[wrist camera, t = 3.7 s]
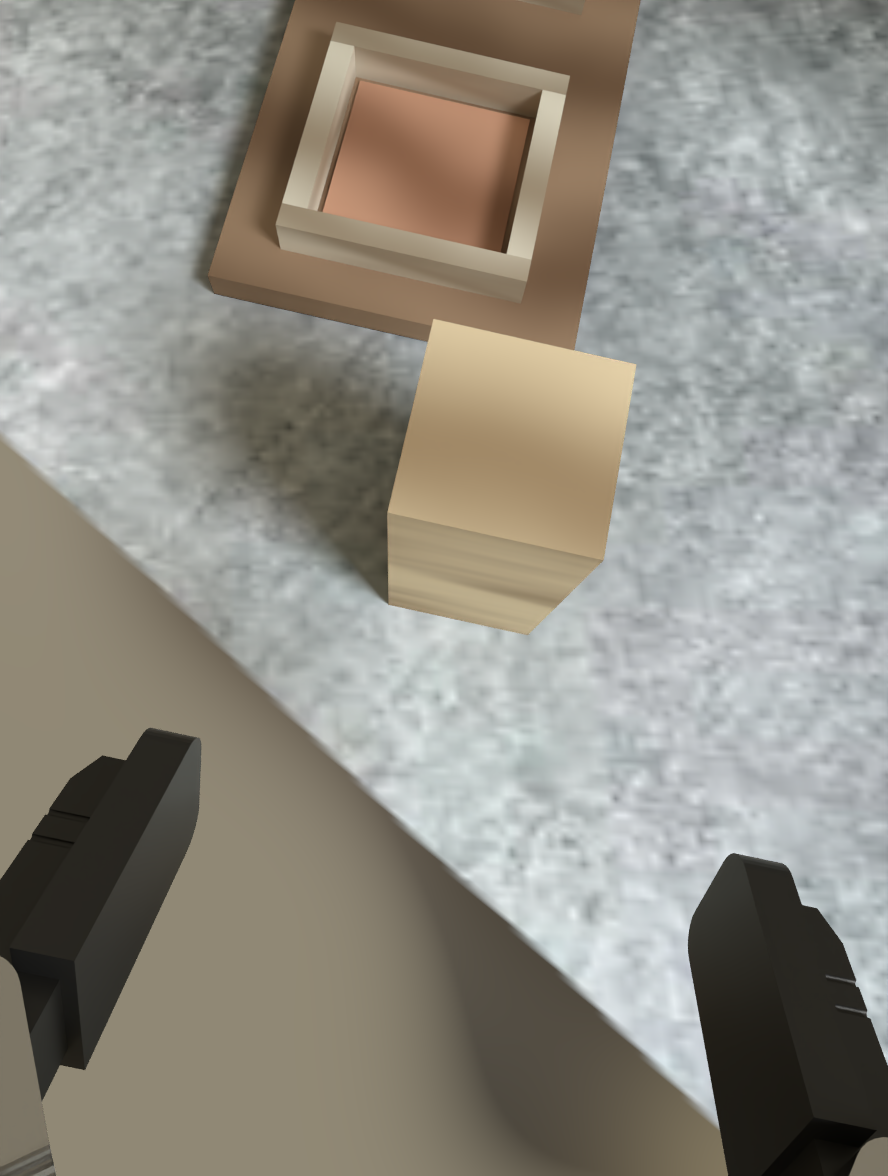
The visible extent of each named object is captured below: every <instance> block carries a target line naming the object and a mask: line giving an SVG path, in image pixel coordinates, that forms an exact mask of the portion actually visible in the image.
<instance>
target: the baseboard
mask: <svg viewBox="0 0 888 1176" xmlns="http://www.w3.org/2000/svg"><path fill="white" fill-rule="evenodd" d="M639 5H640V0H295V2H294V5H293V9H292V12H291V15H290V18H289V21H288V24H287V27H286V31H285V34H284V37H283V40H282V43H281V46H280V49H279V53H278V56H277V59H276V62H275V65H274V68H273V71H272V75H271V78H270V81H269V84H268V87H267V90H266V93H265V97H264V100H263V103H262V106H261V109H260V112H259V115H258V119H257V122H256V125H255V128H254V131H253V134H252V137H251V141H250V144H249V147H248V150H247V153H246V156H245V159H244V163H243V166H242V169H241V172H240V175H239V178H238V181H237V185H236V188H235V191H234V194H233V197H232V200H231V203H230V207H229V210H228V213H227V216H226V219H225V222H224V225H223V229H222V232H221V235H220V238H219V241H218V244H217V247H216V251H215V254H214V257H213V260H212V263H211V266H210V269H209V273H208V278H209V280H210V283H211V286H212V289H213V291H214V294H219V295H223V296H228V297H232V298H236V299H241V300H245V301H250V302H254V303H259V304H263V305H267V306H272V307H276V308H281V309H285V310H290V311H294V312H299V313H303V314H307V315H312V316H316V317H321V318H325V319H330V320H334V321H339V322H343V323H347V324H352V325H356V326H361V327H365V328H370V329H374V330H379V331H383V332H387V333H392V334H396V335H401V336H405V337H410V338H414V339H419V340H423V341H427V342H428V340H429V336H430V331H431V327H432V323H433V319H436V320H441V321H445V322H450V323H454V324H459V325H463V326H468V327H472V328H476V329H481V330H485V331H490V332H494V333H499V334H503V335H508V336H512V337H516V338H521V339H525V340H530V341H534V342H539V343H543V344H548V345H552V346H556V347H561V348H565V349H570V350H574V348H575V343H576V338H577V332H578V327H579V322H580V316H581V311H582V306H583V301H584V295H585V290H586V285H587V280H588V274H589V269H590V264H591V258H592V253H593V248H594V243H595V237H596V232H597V227H598V221H599V216H600V211H601V206H602V200H603V195H604V190H605V185H606V179H607V174H608V169H609V163H610V158H611V153H612V148H613V142H614V137H615V132H616V127H617V121H618V116H619V111H620V105H621V100H622V95H623V90H624V84H625V79H626V74H627V68H628V63H629V58H630V53H631V47H632V42H633V37H634V32H635V26H636V21H637V16H638V10H639Z"/></svg>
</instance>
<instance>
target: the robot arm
mask: <svg viewBox="0 0 888 1176" xmlns="http://www.w3.org/2000/svg"><path fill="white" fill-rule="evenodd" d="M200 767H201V741H200V739H199V738H196V737H192V736H187V735H182V734H178V733H172V732H168V731H163V730H158V729H153V728H148V729H147V730H146V731H145V732H144V733H143V734H142V736H141V737H140V739H139V740H138V742H137V744H136V745H135V747H134V748H133V750H132V752H131V753H130V755H129V756H128V758H127V760H121V759H116V758H111V757H106V756H101V757H100V758H98V759H97V760H96V761H94V762H93V763H91V764H90V765H89V766H87V767H86V768H84V769H83V770H82V771H80V772H79V773H77V774H76V775H75V776H73V777H72V778H70V780H69V781H68V783H67V784H66V786H65V787H64V789H63V790H62V791H61V793H60V794H59V796H58V797H57V798H56V800H55V801H54V803H53V804H52V806H51V807H50V810H49V813H48V815H45V816H44V817H43V819H42V820H41V822H40V823H39V825H38V826H37V828H36V829H35V831H34V832H33V834H32V838H31V839H30V840H28V841H27V842H26V843H25V845H24V846H23V848H22V849H21V851H20V852H19V854H18V855H17V857H16V858H15V860H14V861H13V862H12V864H11V865H10V867H9V868H8V870H7V871H6V873H5V874H4V875H3V877H2V878H1V880H0V1176H56V1174H55V1169H54V1164H53V1159H52V1155H51V1150H50V1144H49V1140H48V1134H47V1128H46V1123H45V1117H44V1112H43V1106H42V1100H43V1098H44V1096H45V1094H46V1092H47V1090H48V1088H49V1086H50V1084H51V1082H52V1080H53V1078H54V1076H55V1074H56V1072H57V1069H58V1068H59V1066H60V1065H63V1066H68V1067H73V1068H78V1069H83V1070H85V1069H86V1067H87V1064H88V1062H89V1060H90V1058H91V1056H92V1054H93V1052H94V1049H95V1047H96V1045H97V1043H98V1041H99V1039H100V1037H101V1034H102V1032H103V1030H104V1028H105V1026H106V1023H107V1022H108V1019H109V1017H110V1015H111V1013H112V1011H113V1009H114V1007H115V1004H116V1002H117V1000H118V998H119V996H120V994H121V991H122V989H123V987H124V985H125V983H126V981H127V979H128V976H129V974H130V972H131V970H132V968H133V966H134V964H135V961H136V959H137V957H138V955H139V953H140V951H141V949H142V946H143V944H144V942H145V940H146V938H147V936H148V934H149V931H150V929H151V927H152V925H153V923H154V920H155V918H156V916H157V914H158V912H159V910H160V908H161V905H162V903H163V901H164V899H165V897H166V895H167V893H168V891H169V889H170V886H171V884H172V882H173V880H174V878H175V875H176V873H177V871H178V869H179V867H180V865H181V863H182V861H183V859H184V856H185V854H186V852H187V850H188V847H189V845H190V842H191V839H192V837H193V833H194V830H195V826H196V822H197V816H198V811H199V794H200V792H199V791H200ZM688 954H689V961H690V967H691V972H692V978H693V983H694V989H695V994H696V1000H697V1005H698V1011H699V1016H700V1022H701V1027H702V1033H703V1039H704V1044H705V1050H706V1055H707V1061H708V1066H709V1072H710V1077H711V1083H712V1088H713V1094H714V1099H715V1105H716V1110H717V1116H718V1121H719V1127H720V1133H721V1138H722V1143H723V1149H724V1154H725V1160H726V1165H727V1171H728V1176H888V1065H887V1063H886V1060H885V1057H884V1055H883V1052H882V1049H881V1046H880V1044H879V1041H878V1038H877V1036H876V1033H875V1030H874V1027H873V1025H872V1022H871V1019H870V1018H867V1015H866V1013H867V1008H866V1006H865V1003H864V1000H863V997H862V995H861V992H860V989H859V987H856V985H855V982H856V978H855V976H854V973H853V970H852V967H851V965H850V962H849V959H848V957H847V954H846V951H845V948H844V946H843V943H842V942H841V940H840V939H839V938H838V936H837V935H836V934H835V932H834V931H833V929H832V928H831V927H830V925H829V924H828V923H827V921H826V920H825V919H824V917H823V916H822V914H821V913H820V912H819V910H818V909H817V908H813V907H808V906H803V905H802V904H801V901H800V898H799V895H798V892H797V889H796V886H795V883H794V880H793V877H792V875H791V872H790V870H789V869H788V868H787V866H786V865H784V864H782V863H778V862H773V861H768V860H764V859H759V858H754V857H749V856H745V855H740V854H735V853H733V854H730V855H729V856H728V857H727V858H726V859H725V861H724V862H723V864H722V866H721V867H720V869H719V871H718V873H717V874H716V876H715V878H714V880H713V881H712V883H711V885H710V887H709V888H708V890H707V892H706V893H705V895H704V897H703V899H702V900H701V902H700V904H699V906H698V907H697V909H696V911H695V913H694V915H693V917H692V920H691V924H690V929H689V936H688Z"/></svg>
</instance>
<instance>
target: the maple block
mask: <svg viewBox="0 0 888 1176" xmlns="http://www.w3.org/2000/svg"><path fill="white" fill-rule="evenodd" d="M635 370H636V364H632V363H627V362H623V361H619V360H614V359H610V358H605V357H601V356H596V355H592V354H588V353H583V352H579V351H574V350H570V349H565V348H561V347H556V346H552V345H548V344H543V343H539V342H534V341H530V340H525V339H521V338H516V337H512V336H508V335H503V334H499V333H494V332H490V331H485V330H481V329H476V328H472V327H468V326H463V325H459V324H454V323H450V322H445V321H441V320H436V319H433V323H432V327H431V331H430V336H429V340H428V344H427V348H426V352H425V357H424V361H423V365H422V369H421V373H420V378H419V382H418V386H417V390H416V394H415V399H414V403H413V407H412V411H411V415H410V420H409V424H408V428H407V432H406V436H405V441H404V445H403V449H402V453H401V457H400V461H399V466H398V470H397V474H396V478H395V482H394V487H393V491H392V495H391V499H390V503H389V508H388V512H387V525H388V599H389V605H392V606H397V607H402V608H406V609H411V610H415V611H420V612H424V613H429V614H434V615H438V616H443V617H447V618H452V619H456V620H461V621H466V622H470V623H475V624H479V625H484V626H488V627H493V628H498V629H502V630H507V631H511V632H516V633H520V634H525V635H528V634H529V633H530V632H531V631H532V630H533V629H534V628H535V627H536V626H537V625H538V624H539V623H540V622H541V621H542V620H544V619H545V618H546V617H547V616H548V615H549V614H550V613H551V612H552V611H553V610H554V609H555V608H556V607H557V606H558V605H559V604H560V603H561V602H562V601H563V600H564V599H565V598H566V597H567V596H568V595H569V594H570V593H571V592H572V591H573V590H574V589H575V588H576V587H577V586H578V585H579V584H580V583H581V582H582V581H583V580H584V579H585V578H586V577H587V576H588V575H589V574H590V573H591V572H592V571H593V570H594V569H595V568H596V567H597V566H598V565H599V564H600V563H601V562H602V561H603V560H604V554H605V548H606V542H607V536H608V530H609V524H610V518H611V512H612V506H613V500H614V495H615V489H616V483H617V477H618V471H619V465H620V459H621V453H622V447H623V441H624V435H625V429H626V423H627V417H628V411H629V405H630V399H631V393H632V387H633V381H634V375H635Z"/></svg>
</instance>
